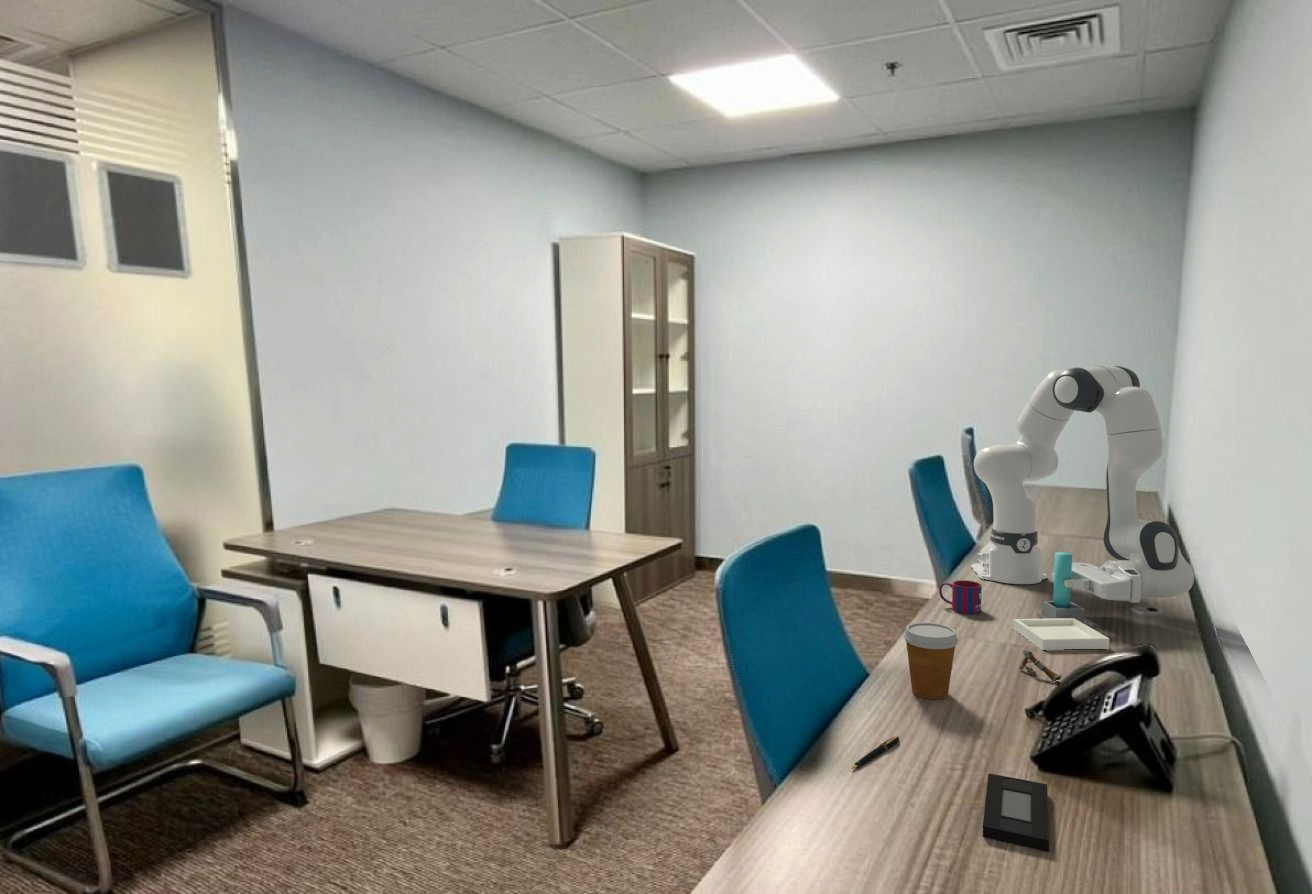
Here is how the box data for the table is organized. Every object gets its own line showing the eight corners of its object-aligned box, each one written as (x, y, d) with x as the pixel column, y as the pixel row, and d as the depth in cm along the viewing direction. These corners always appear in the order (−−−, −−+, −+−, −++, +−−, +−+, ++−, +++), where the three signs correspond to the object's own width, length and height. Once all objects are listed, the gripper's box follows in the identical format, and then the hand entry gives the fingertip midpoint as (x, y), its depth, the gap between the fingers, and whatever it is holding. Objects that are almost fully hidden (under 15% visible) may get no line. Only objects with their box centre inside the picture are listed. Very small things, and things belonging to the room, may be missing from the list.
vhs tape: (982, 840, 97) (982, 825, 97) (988, 786, 110) (988, 773, 109) (1048, 855, 93) (1049, 840, 93) (1046, 797, 106) (1047, 784, 106)
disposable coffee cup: (892, 687, 144) (892, 625, 143) (933, 679, 147) (933, 619, 146) (926, 707, 135) (927, 641, 134) (969, 698, 138) (970, 634, 137)
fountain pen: (853, 775, 113) (854, 765, 113) (847, 772, 114) (847, 762, 114) (902, 742, 123) (902, 733, 123) (895, 739, 124) (896, 730, 124)
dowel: (1050, 609, 182) (1051, 552, 181) (1065, 609, 182) (1067, 552, 181) (1057, 614, 179) (1059, 555, 177) (1073, 614, 179) (1075, 555, 177)
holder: (1037, 616, 184) (1037, 600, 184) (1070, 616, 184) (1071, 599, 184) (1054, 627, 176) (1054, 610, 176) (1088, 626, 176) (1089, 609, 176)
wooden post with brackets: (1019, 663, 152) (1027, 646, 150) (1053, 692, 146) (1062, 674, 144) (1013, 665, 151) (1022, 648, 149) (1047, 694, 145) (1057, 676, 143)
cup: (975, 616, 186) (975, 588, 185) (935, 608, 192) (935, 582, 192) (985, 609, 191) (985, 583, 190) (945, 602, 197) (946, 576, 197)
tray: (1012, 629, 175) (1012, 619, 175) (1073, 628, 175) (1074, 618, 175) (1042, 650, 162) (1042, 639, 161) (1109, 649, 161) (1109, 638, 161)
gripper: (1093, 555, 189) (1037, 556, 190) (1145, 577, 169) (1082, 578, 169) (1092, 580, 190) (1037, 581, 190) (1143, 605, 170) (1081, 606, 170)
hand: (1058, 580), depth 180 cm, fingers closed on dowel, 4 cm apart
